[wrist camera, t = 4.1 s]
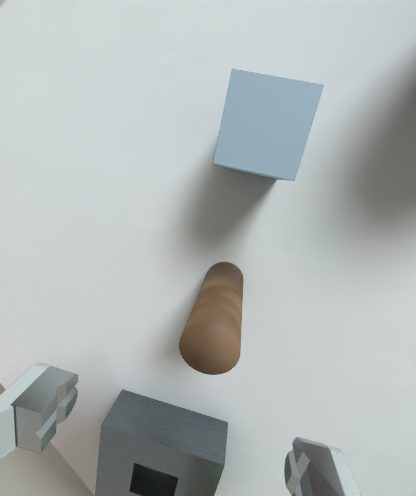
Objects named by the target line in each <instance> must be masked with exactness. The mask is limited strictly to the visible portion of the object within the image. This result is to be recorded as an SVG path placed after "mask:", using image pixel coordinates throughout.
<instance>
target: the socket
mask: <svg viewBox="0 0 416 496" xmlns="http://www.w3.org/2000/svg"><path fill="white" fill-rule="evenodd" d="M227 427H228V422H225V421H221V420H218V419H215V418H212V417H209V416H205V415H202V414H199V413H196V412H193V411H189V410H186V409H183V408H180V407H177V406H173V405H170V404H167V403H164V402H161V401H157V400H154V399H151V398H148V397H145V396H141V395H138V394H135V393H132V392H128V391H125V390H122V391H121V393H120V395H119V396H118V398H117V400H116V401H115V403H114V405H113V406H112V408H111V410H110V412H109V413H108V415H107V417H106V418H105V420H104V422H103V423H102V426H101V437H100V448H99V459H98V470H97V481H96V492H95V496H214V494H215V491H216V488H217V485H218V483H219V480H220V477H221V474H222V471H223V468H224V464H225V452H226V439H227Z"/></svg>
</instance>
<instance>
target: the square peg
mask: <svg viewBox="0 0 416 496" xmlns="http://www.w3.org/2000/svg"><path fill="white" fill-rule="evenodd" d="M323 86H324V85H321V84H316V83H310V82H304V81H299V80H293V79H287V78H282V77H276V76H270V75H265V74H259V73H253V72H248V71H242V70H236V69H232V71H231V76H230V81H229V86H228V91H227V96H226V101H225V106H224V111H223V116H222V121H221V126H220V131H219V136H218V141H217V146H216V151H215V156H214V161H213V164H216V165H219V166H221V167H224V168H227V169H232V170H236V171H241V172H246V173H250V174H255V175H260V176H264V177H269V178H274V179H280V180H291V181H295V177H296V174H297V171H298V168H299V164H300V161H301V158H302V155H303V151H304V148H305V145H306V142H307V138H308V135H309V132H310V129H311V125H312V122H313V119H314V116H315V112H316V109H317V106H318V103H319V99H320V96H321V93H322V89H323Z"/></svg>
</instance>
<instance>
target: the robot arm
mask: <svg viewBox="0 0 416 496" xmlns="http://www.w3.org/2000/svg"><path fill="white" fill-rule="evenodd" d="M77 382H78V375H77V374H74V373H71V372H68V371H65V370H62V369H59V368H56V367H52V366H49V365H46V364H42V363H37V364H35V365H33V366H32V367H31V368H30V369H29V370H28V371H27V372H25V373H24V374H23V375H22V376H21V377H20V378H19V379H18V380H17V381H16V382H14V383H13V384H12V385H11V386H10V387H9V388H8V389H7V390H6V391H5V392H3V393H2V394H1V395H0V459H1V458H2V457H4V456H5V455H7V454H8V453H10V452H11V451H13V450H14V449H16V447H20V448H23V449H27V450H31V451H35V452H38V453H41V452H42V451H43V449H44V448H45V447H46V445H47V444H48V443H49V441H50V440H51V439H52V437H53V436H54V434H55V433H56V425H57V424H59V423H60V422H62V421H64V420H65V419H66V418H67V416H68V415H69V414H70V412H71V410H72V408H73V406H74V404H75V402H76V399H77V393H78V391H77V389H76V387H75V385H76V384H77ZM292 444H293V450H292V451H290V452H288V454H287V457H286V460H285V468H284V469H285V482H286V487H287V489H288V490H289V492H290V494H291V495H292V496H361V495H360V493H359V490H358V487H357V485H356V482H355V480H354V477H353V474H352V472H351V469H350V467H349V464H348V461H347V459H346V456H345V454H344V452H343V451H342V450H341V449H338V448H335V447H331V446H327V445H325V444H322V443H318V442H314V441H311V440H307V439H303V438H300V437H296V438H295V439H294V441H293V443H292Z"/></svg>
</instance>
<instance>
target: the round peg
mask: <svg viewBox="0 0 416 496" xmlns="http://www.w3.org/2000/svg"><path fill="white" fill-rule="evenodd" d="M242 298H243V275H242V273H241V271H240V269H239V268H238V267H237V266H235V265H234V264H232V263H228V262H220V263H217V264H215V265H213V266H212V267H211V268H210V269H209V271H208V273H207V275H206V278H205V280H204V283H203V285H202V287H201V290H200V292H199V295H198V297H197V300H196V302H195V304H194V307H193V309H192V312H191V314H190V316H189V319H188V321H187V324H186V326H185V328H184V331H183V333H182V336H181V338H180V342H179V348H180V353H181V355H182V357H183V359H184V360H185V362H186V363H187V364H188V365H189V366H190V367H192V368H193V369H195V370H197V371H199V372H201V373H205V374H210V375H216V374H222V373H225V372H227V371H229V370H231V369H232V368H233V367H234V366H235V365H236V364H237V362H238V360H239V358H240V347H241V322H242Z"/></svg>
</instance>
